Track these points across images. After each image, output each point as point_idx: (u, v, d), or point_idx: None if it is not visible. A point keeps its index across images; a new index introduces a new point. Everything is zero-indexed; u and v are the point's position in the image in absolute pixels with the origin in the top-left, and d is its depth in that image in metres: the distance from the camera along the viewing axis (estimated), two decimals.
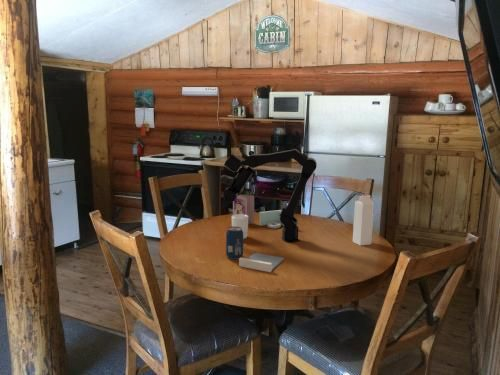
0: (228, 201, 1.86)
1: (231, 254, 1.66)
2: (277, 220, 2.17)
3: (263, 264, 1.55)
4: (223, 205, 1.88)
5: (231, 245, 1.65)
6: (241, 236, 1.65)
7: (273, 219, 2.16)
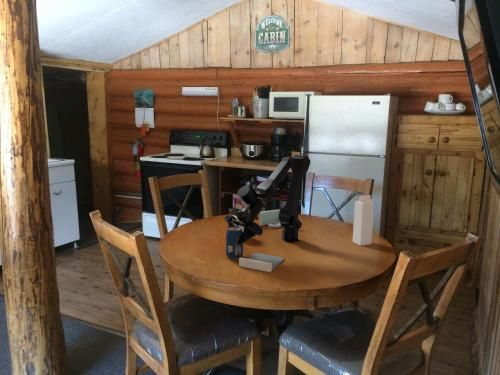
0: (247, 237, 1.65)
1: (231, 254, 1.66)
2: (277, 220, 2.18)
3: (263, 264, 1.55)
4: (240, 241, 1.64)
5: (231, 245, 1.65)
6: None
7: (273, 219, 2.17)
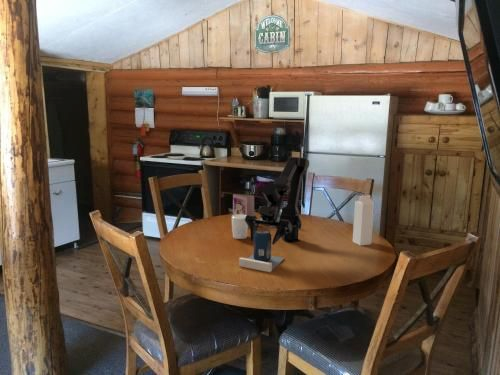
0: (280, 236, 1.61)
1: (262, 258, 1.60)
2: (278, 219, 2.19)
3: (263, 264, 1.55)
4: (275, 241, 1.59)
5: (263, 248, 1.59)
6: None
7: None
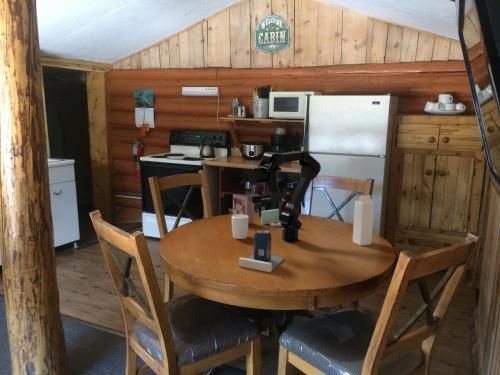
0: None
1: (262, 258, 1.60)
2: (278, 219, 2.20)
3: (263, 264, 1.55)
4: None
5: (263, 248, 1.59)
6: None
7: (274, 218, 2.18)
